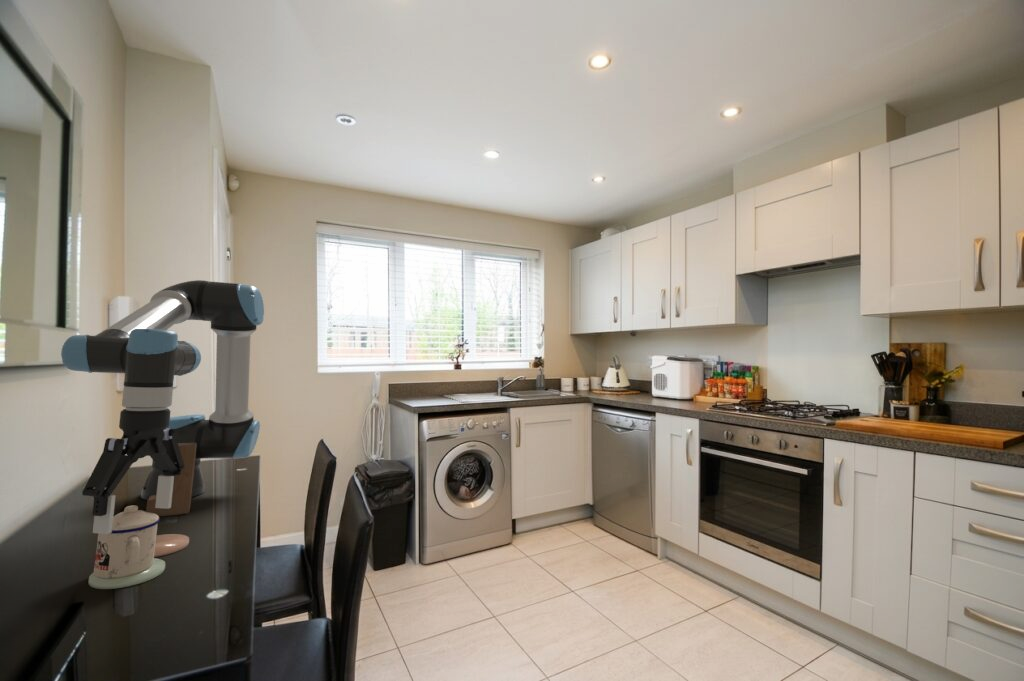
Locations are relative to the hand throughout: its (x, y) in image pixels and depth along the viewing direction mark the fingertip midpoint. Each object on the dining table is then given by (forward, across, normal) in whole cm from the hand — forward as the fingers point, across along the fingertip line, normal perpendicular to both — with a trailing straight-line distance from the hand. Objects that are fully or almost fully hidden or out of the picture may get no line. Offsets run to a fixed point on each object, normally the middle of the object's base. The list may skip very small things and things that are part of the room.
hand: (135, 519), depth 85 cm
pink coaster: (+10, -12, -4) cm, 16 cm away
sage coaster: (+10, 0, 0) cm, 10 cm away
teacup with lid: (+10, +1, 0) cm, 10 cm away
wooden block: (+11, -32, -18) cm, 38 cm away
